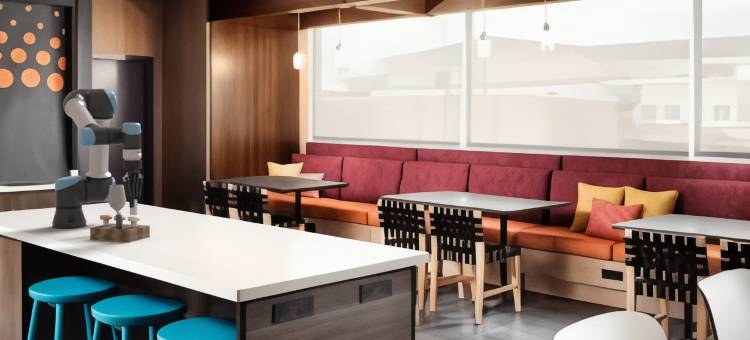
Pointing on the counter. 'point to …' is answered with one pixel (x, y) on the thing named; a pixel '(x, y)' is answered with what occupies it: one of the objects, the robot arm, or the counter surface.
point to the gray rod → (119, 220)
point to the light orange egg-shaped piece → (105, 219)
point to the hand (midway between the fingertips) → (133, 214)
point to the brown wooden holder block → (119, 233)
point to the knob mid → (122, 219)
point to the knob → (134, 221)
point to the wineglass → (117, 197)
